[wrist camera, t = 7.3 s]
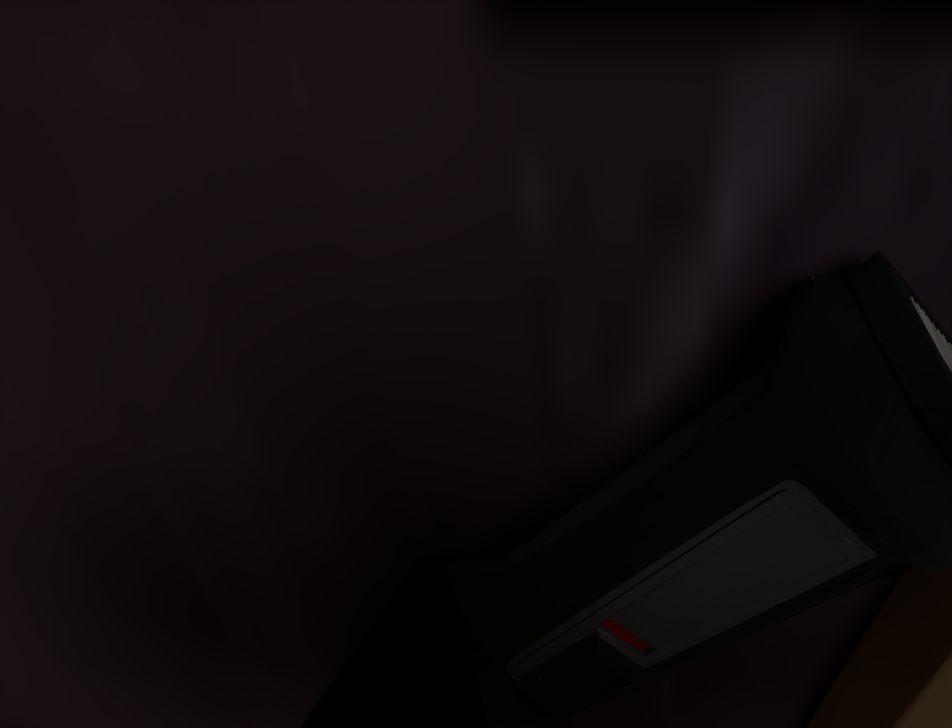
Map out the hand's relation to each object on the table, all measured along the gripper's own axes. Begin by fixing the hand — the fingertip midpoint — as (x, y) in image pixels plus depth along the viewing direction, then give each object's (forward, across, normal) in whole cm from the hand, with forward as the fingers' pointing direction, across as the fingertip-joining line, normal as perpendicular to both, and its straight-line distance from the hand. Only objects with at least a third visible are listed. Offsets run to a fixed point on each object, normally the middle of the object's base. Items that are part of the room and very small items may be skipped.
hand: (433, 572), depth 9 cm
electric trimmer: (+2, -2, +1) cm, 3 cm away
